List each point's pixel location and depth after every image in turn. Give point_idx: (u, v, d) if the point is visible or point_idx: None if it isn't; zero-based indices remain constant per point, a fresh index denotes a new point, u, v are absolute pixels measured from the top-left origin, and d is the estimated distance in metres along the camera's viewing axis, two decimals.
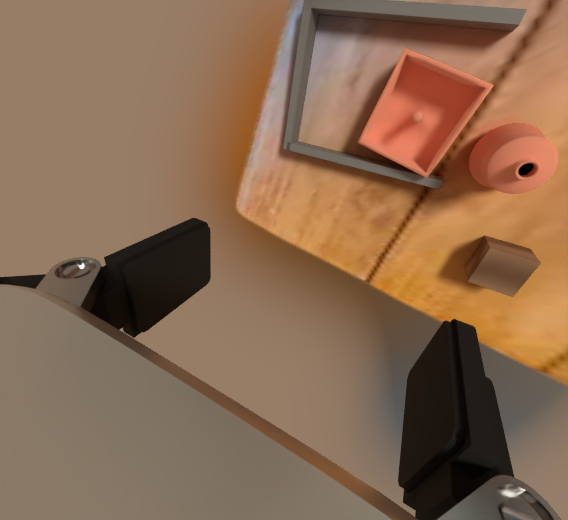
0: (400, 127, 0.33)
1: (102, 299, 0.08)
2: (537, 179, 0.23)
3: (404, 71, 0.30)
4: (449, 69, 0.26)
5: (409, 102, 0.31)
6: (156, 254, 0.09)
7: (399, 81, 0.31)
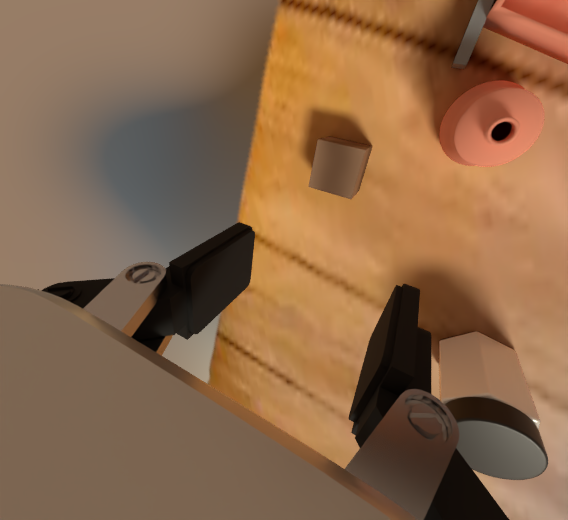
0: None
1: (168, 303, 0.08)
2: (477, 149, 0.18)
3: None
4: None
5: None
6: (213, 259, 0.09)
7: None
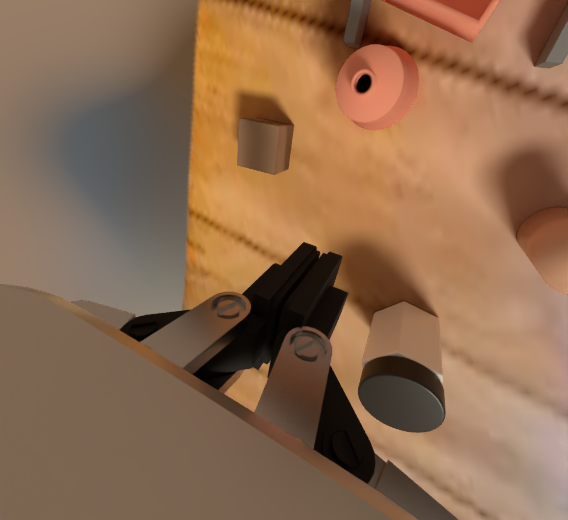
0: None
1: (253, 337, 0.07)
2: (351, 104, 0.20)
3: None
4: None
5: None
6: (291, 286, 0.08)
7: None
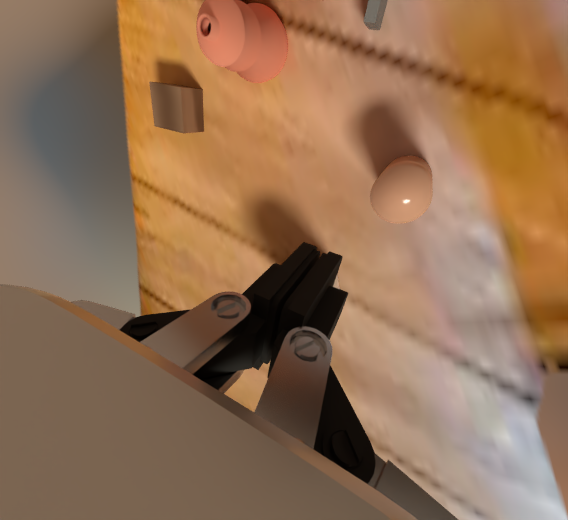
0: None
1: (253, 337, 0.07)
2: (207, 48, 0.23)
3: None
4: None
5: None
6: (292, 286, 0.08)
7: None
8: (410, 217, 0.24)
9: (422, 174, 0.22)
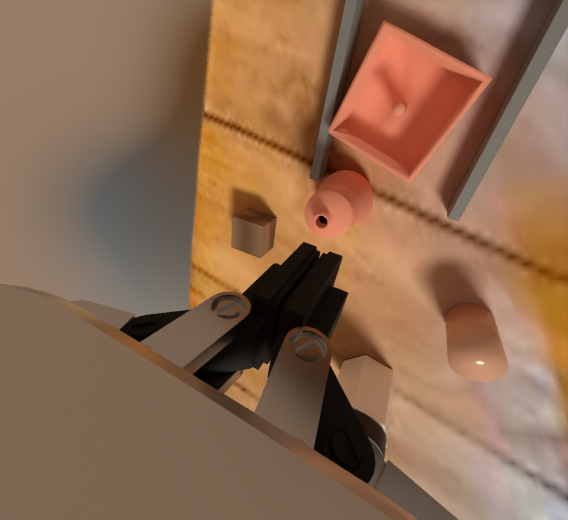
0: (394, 87, 0.26)
1: (253, 337, 0.07)
2: (315, 227, 0.27)
3: (464, 81, 0.23)
4: (441, 139, 0.23)
5: (422, 95, 0.25)
6: (291, 286, 0.08)
7: (453, 76, 0.23)
8: (484, 379, 0.27)
9: (500, 354, 0.26)
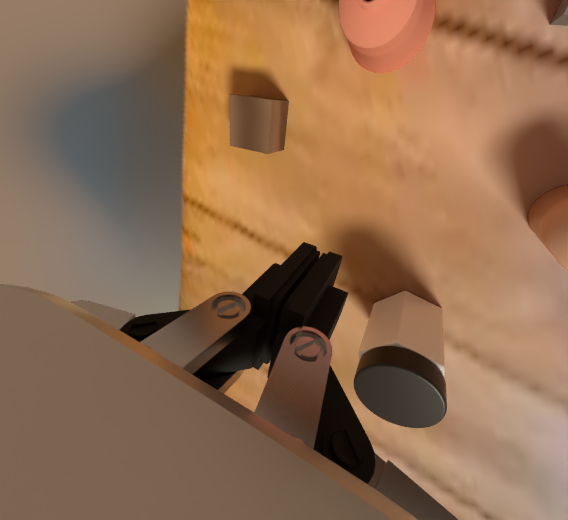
0: None
1: (253, 337, 0.07)
2: (355, 21, 0.17)
3: None
4: None
5: None
6: (291, 286, 0.08)
7: None
8: None
9: None
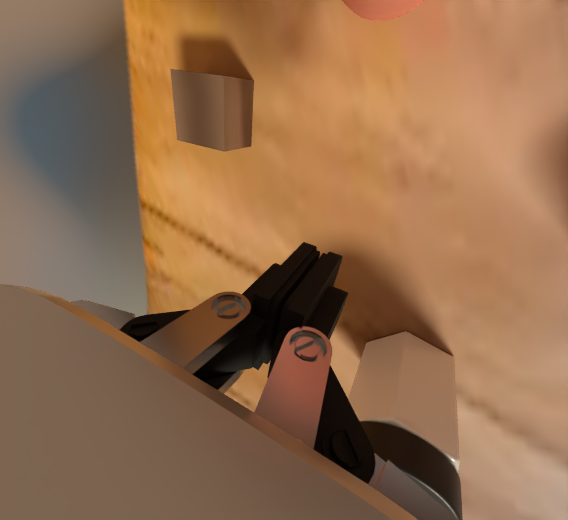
0: None
1: (253, 337, 0.07)
2: None
3: None
4: None
5: None
6: (292, 286, 0.08)
7: None
8: None
9: None
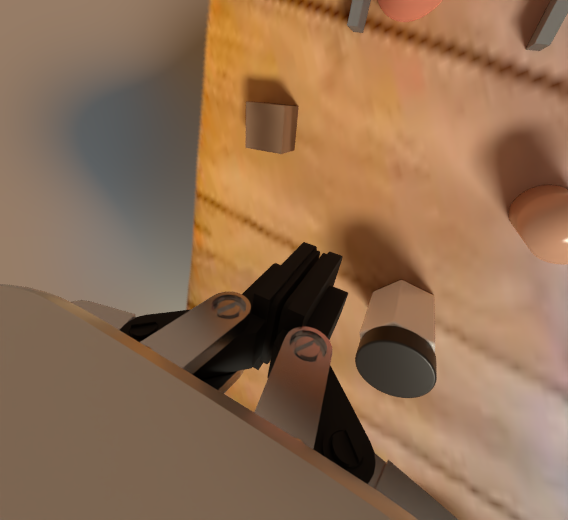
0: None
1: (253, 337, 0.07)
2: None
3: None
4: None
5: None
6: (292, 286, 0.08)
7: None
8: None
9: None
